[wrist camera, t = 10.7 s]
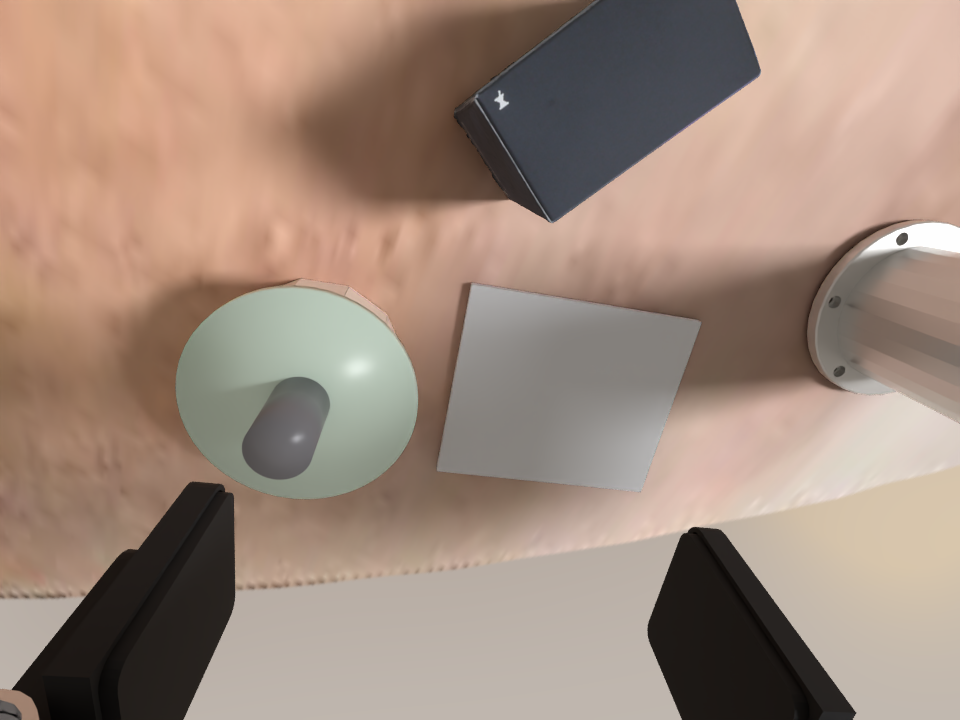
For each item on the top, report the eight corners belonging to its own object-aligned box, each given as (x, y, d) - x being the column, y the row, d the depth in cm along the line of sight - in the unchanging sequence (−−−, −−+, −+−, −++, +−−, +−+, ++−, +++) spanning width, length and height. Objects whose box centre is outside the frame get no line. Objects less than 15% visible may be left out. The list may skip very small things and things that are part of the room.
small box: (511, 208, 32) (550, 234, 22) (449, 111, 30) (462, 93, 20) (660, 100, 30) (771, 77, 21) (607, -11, 28) (705, -95, 18)
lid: (434, 305, 28) (437, 342, 23) (401, 500, 33) (398, 568, 28) (180, 266, 26) (118, 296, 21) (183, 480, 31) (133, 549, 26)
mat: (697, 319, 36) (701, 322, 35) (637, 487, 41) (640, 492, 40) (471, 282, 33) (472, 284, 33) (436, 466, 38) (436, 471, 38)
